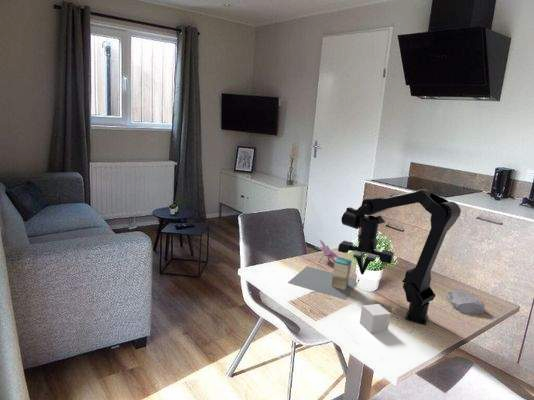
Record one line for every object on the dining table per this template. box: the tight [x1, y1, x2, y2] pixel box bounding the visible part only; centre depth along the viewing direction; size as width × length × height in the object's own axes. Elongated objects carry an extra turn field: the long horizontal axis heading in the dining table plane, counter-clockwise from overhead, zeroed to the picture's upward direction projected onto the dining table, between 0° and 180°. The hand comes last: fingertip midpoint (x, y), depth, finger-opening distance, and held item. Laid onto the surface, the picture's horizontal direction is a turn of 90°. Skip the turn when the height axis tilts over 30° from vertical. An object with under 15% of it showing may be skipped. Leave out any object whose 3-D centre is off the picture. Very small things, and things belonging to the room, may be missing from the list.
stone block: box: [446, 289, 486, 315], centre depth 138 cm, size 12×5×10 cm
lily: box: [318, 238, 339, 264], centre depth 167 cm, size 12×12×10 cm
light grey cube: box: [359, 303, 391, 334], centre depth 118 cm, size 6×6×6 cm
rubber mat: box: [287, 265, 358, 300], centre depth 147 cm, size 20×22×1 cm
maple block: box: [332, 256, 353, 290], centre depth 144 cm, size 5×5×10 cm
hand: (362, 273), depth 140 cm, fingers closed
